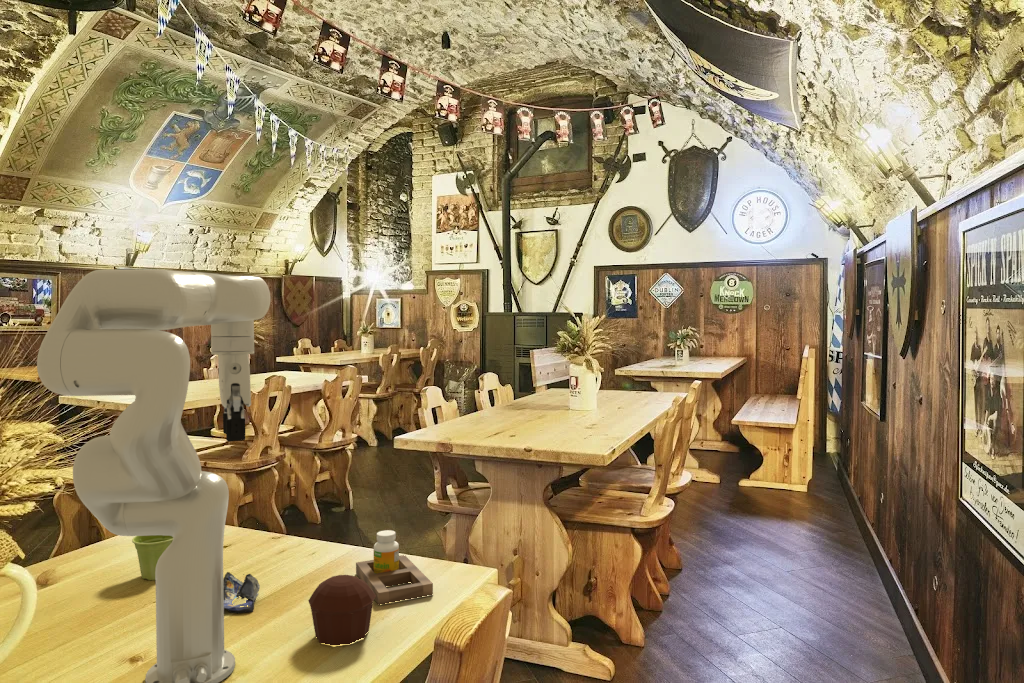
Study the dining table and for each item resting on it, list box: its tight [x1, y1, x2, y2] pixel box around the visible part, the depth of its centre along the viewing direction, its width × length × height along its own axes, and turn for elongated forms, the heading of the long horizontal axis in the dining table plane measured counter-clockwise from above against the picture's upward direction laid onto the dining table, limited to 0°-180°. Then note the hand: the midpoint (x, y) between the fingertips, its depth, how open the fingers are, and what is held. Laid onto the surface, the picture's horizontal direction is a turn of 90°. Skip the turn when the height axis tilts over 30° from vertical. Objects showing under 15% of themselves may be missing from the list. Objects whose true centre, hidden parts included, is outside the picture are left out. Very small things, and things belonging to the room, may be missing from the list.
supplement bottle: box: [373, 529, 400, 574], centre depth 146 cm, size 5×5×10 cm
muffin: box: [307, 574, 376, 645], centre depth 119 cm, size 12×11×10 cm
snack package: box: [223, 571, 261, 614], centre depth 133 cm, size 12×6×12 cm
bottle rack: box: [355, 554, 434, 606], centre depth 142 cm, size 19×11×2 cm, turn 26°
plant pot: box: [131, 535, 173, 581], centre depth 148 cm, size 9×9×9 cm
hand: (234, 436), depth 128 cm, fingers open, 9 cm apart
